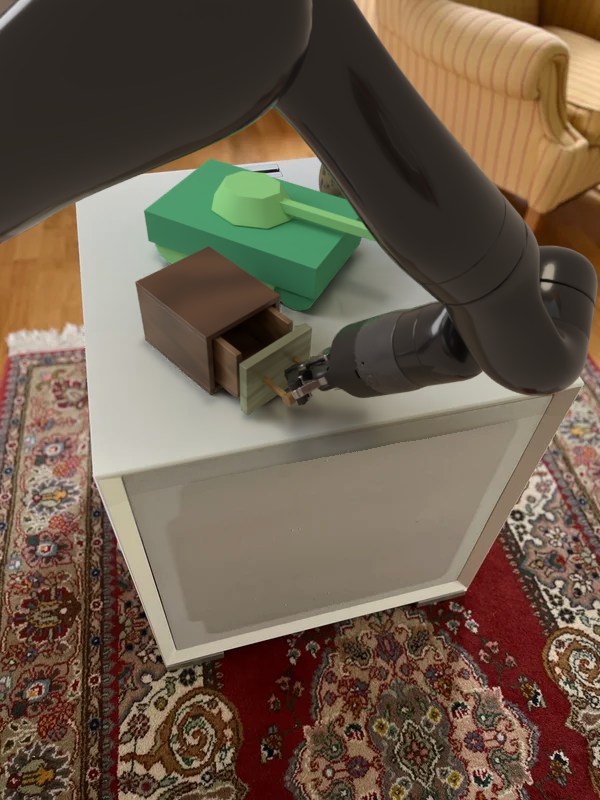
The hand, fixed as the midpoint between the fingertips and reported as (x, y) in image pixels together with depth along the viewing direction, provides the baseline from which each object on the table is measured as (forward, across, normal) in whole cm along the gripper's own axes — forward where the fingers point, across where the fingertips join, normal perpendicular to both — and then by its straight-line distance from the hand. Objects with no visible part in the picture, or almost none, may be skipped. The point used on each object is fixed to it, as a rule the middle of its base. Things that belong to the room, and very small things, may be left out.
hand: (291, 375), depth 74 cm
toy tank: (+19, -19, -11) cm, 30 cm away
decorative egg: (+22, -38, -13) cm, 46 cm away
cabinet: (+14, 0, -6) cm, 16 cm away
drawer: (+7, 0, -1) cm, 7 cm away
